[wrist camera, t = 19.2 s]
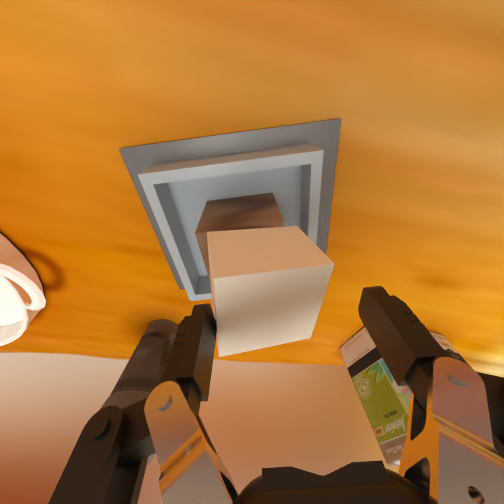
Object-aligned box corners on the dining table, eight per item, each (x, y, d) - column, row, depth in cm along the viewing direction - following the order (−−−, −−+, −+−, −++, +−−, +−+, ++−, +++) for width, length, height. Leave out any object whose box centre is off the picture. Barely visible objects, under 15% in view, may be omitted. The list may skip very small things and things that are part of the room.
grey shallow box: (339, 118, 17) (363, 120, 13) (322, 270, 26) (334, 294, 22) (121, 147, 17) (92, 156, 14) (180, 287, 26) (172, 312, 23)
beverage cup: (180, 347, 34) (123, 574, 17) (133, 336, 31) (16, 585, 15) (196, 321, 30) (142, 576, 14) (144, 307, 28) (5, 590, 11)
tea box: (336, 348, 36) (385, 469, 24) (376, 313, 31) (464, 444, 19) (399, 362, 40) (468, 472, 28) (443, 333, 35) (552, 452, 23)
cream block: (296, 225, 14) (334, 263, 10) (285, 291, 17) (310, 338, 14) (206, 231, 13) (213, 278, 9) (212, 301, 16) (218, 357, 12)
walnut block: (272, 192, 19) (284, 222, 14) (275, 247, 22) (286, 287, 17) (206, 200, 19) (194, 233, 14) (220, 254, 22) (214, 295, 17)
